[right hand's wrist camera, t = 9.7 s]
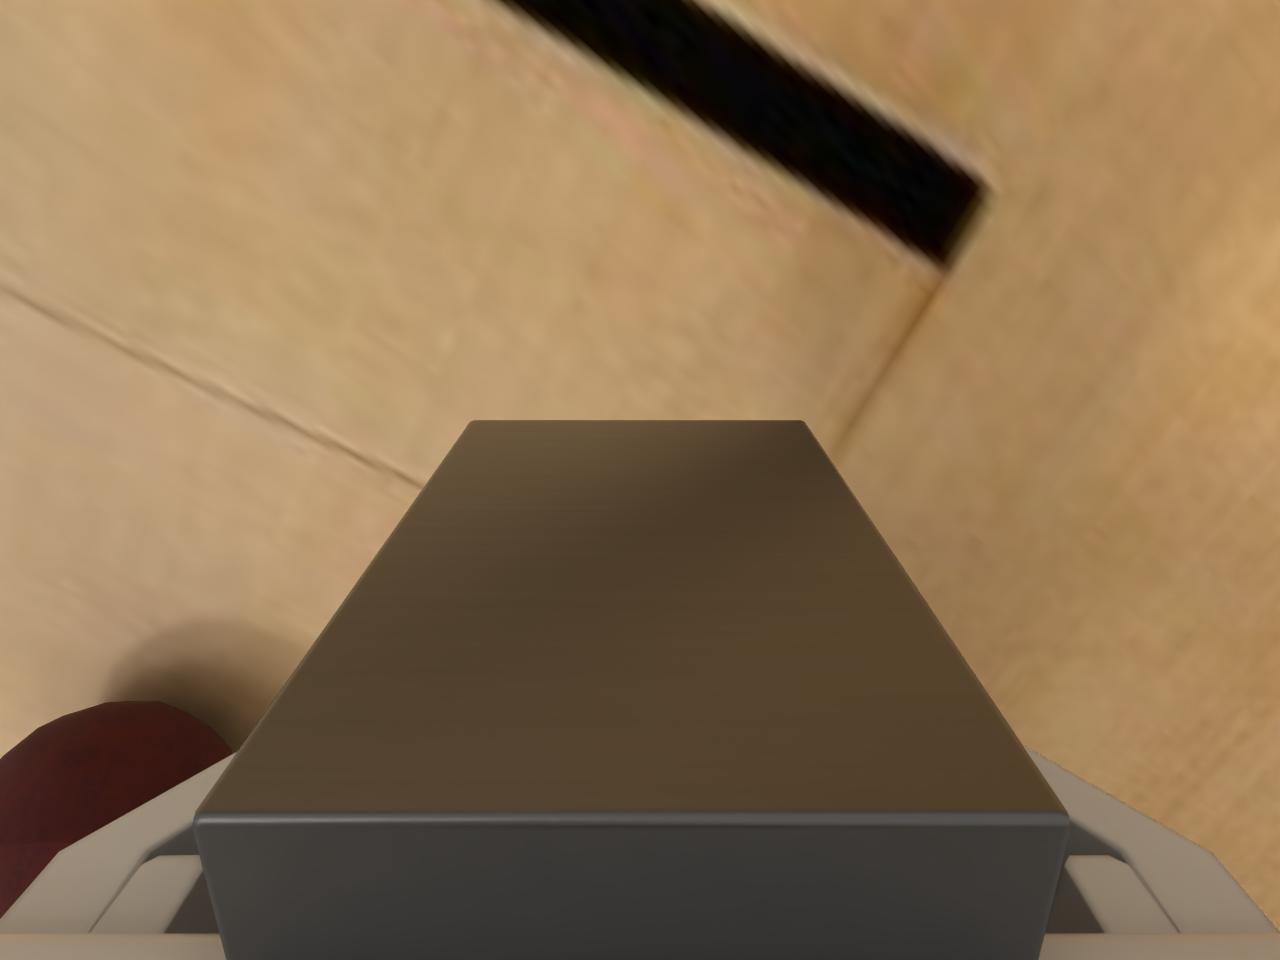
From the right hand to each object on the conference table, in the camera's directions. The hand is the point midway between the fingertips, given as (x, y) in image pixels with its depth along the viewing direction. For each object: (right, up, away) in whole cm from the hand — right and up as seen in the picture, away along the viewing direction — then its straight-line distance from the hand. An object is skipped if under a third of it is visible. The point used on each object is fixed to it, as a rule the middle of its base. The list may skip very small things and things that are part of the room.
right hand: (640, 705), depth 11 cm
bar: (0, -7, +6) cm, 9 cm away
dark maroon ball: (-16, -6, +17) cm, 25 cm away
